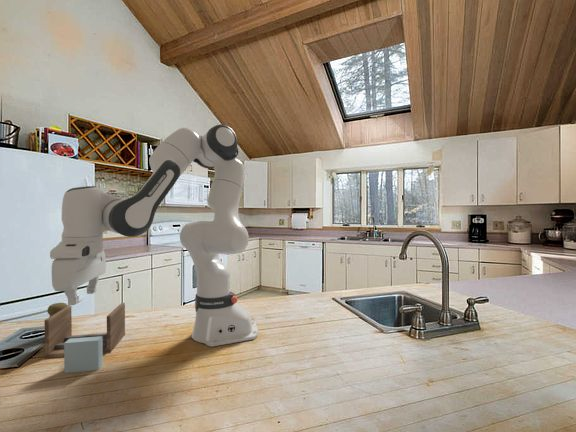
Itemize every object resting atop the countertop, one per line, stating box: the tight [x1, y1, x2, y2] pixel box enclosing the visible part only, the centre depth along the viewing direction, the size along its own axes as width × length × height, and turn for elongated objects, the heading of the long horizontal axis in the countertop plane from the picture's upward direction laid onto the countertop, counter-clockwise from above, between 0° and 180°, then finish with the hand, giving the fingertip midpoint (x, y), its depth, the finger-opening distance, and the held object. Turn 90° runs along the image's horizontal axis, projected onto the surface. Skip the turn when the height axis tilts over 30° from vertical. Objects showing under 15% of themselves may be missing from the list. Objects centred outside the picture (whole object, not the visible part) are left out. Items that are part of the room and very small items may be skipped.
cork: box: [47, 302, 68, 317], centre depth 94 cm, size 6×6×11 cm
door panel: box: [63, 336, 104, 374], centre depth 75 cm, size 8×2×8 cm, turn 102°
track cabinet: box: [44, 302, 126, 359], centre depth 88 cm, size 17×12×11 cm
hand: (83, 298), depth 75 cm, fingers open, 8 cm apart
